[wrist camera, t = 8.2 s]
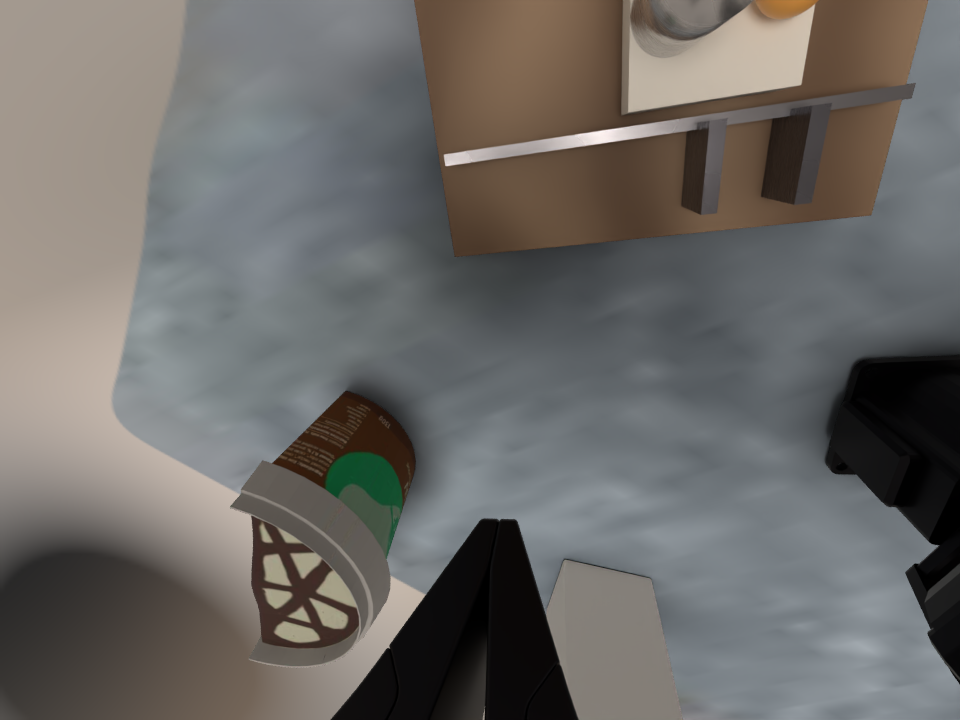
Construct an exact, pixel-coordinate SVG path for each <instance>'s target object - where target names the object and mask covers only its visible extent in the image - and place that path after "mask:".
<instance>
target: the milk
mask: <svg viewBox="0 0 960 720" xmlns="http://www.w3.org/2000/svg"><path fill="white" fill-rule="evenodd" d="M547 621H548V624H549V627H550V631H551V634H552V637H553V640H554V644H555V647H556V650H557V654H558V657H559V660H560V665H561V666H562V670H563V673H564V676H565V680H566V683H567V686H568V689H569V692H570V695H571V698H572V701H573V704H574V707H575V710H576V713H577V716H578V719H579V720H683V717H682V713H681V709H680V704H679V700H678V695H677V691H676V686H675V682H674V678H673V673H672V669H671V664H670V660H669V655H668V651H667V647H666V642H665V638H664V633H663V629H662V624H661V620H660V616H659V611H658V607H657V602H656V598H655V593H654V589H653V584H652V581H651V579H650V578H646V577H641V576H637V575H632V574H628V573H624V572H619V571H615V570H610V569H606V568H601V567H597V566H592V565H588V564H583V563H579V562H574V561H570V560H564V561H563V564H562V567H561V570H560V573H559V576H558V579H557V582H556V584H555V587H554V590H553V593H552V596H551V599H550V602H549V605H548V608H547Z"/></svg>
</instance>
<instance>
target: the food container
mask: <svg viewBox="0 0 960 720" xmlns="http://www.w3.org/2000/svg"><path fill="white" fill-rule="evenodd" d="M415 464H416V460H415V452H414V449H413V446H412V443H411V441H410V439H409V437H408V435H407V433H406V432H405V431H404V429H403V428H402V426H401V425H400V424H399V423H398V422H397V421H396V420H395V419H394V418H393V417H392V415H390V414H389V413H388V412H387V411H385V410H384V409H383V408H382V407H380V406H379V405H377V404H375V403H374V402H372V401H370V400H368V399H366V398H364V397H362V396H360V395H357V394H354V393H351V392H348V391H345V392H344V393H343V394H342V395H341V396H340V397H339V398H338V399H337V400H336V401H335V402H334V403H333V404H332V405H331V406H330V407H329V408H328V409H327V410H326V411H325V412H324V413H323V414H322V415H321V416H320V417H319V418H318V419H317V420H316V421H315V422H314V423H313V424H311V425H310V426H309V427H308V428H307V429H306V430H305V431H304V432H303V433H302V434H301V435H300V436H299V437H298V438H297V439H296V440H295V441H294V442H293V443H292V444H291V445H290V446H289V447H288V448H287V449H286V450H285V451H284V452H283V453H282V454H281V455H280V456H279V457H278V458H277V459H276V460H275V461H274V462H273V463H269V462H266V461H262V462H261V463H260V465H259V466H258V467H257V469H256V470H255V471H254V473H253V474H252V475H251V477H250V478H249V479H248V481H247V482H246V483H245V485H244V486H243V487H242V489H241V495H240V496H239V497H238V498H237V499H236V500H235V502H234V503H233V504H232V505H231V506H230V508H232V509H235V510H238V511H240V512H243V513H246V514H249V515H251V517H252V528H253V557H252V581H251V584H252V589H253V593H254V596H255V599H256V601H257V604H258V608H259V612H260V623H261V637H260V639H259V641H258V643H257V645H256V646H255V648H254V650H253V652H252V654H251V655H250V657H249V660H252V661H255V662H259V663H263V664H268V665H274V666H279V667H292V668H304V667H315V666H321V665H326V664H328V663H332V662H335V661H336V660H339V659H340V658H342V657H344V656H345V655H346V654H348V653H349V652H350V651H351V650H352V649H353V647H354V646H355V644H357V643H358V642H359V641H360V640H361V639H362V638H363V637H364V636H365V634H366V633H367V631H368V630H369V628H370V627H371V625H372V623H373V622H374V620H375V619H376V617H377V615H378V614H379V612H380V611H381V609H382V607H383V606H384V604H385V603H386V601H387V598H388V594H389V591H390V572H389V567H388V562H387V560H386V559H387V556H388V553H389V549H390V546H391V543H392V540H393V537H394V534H395V531H396V528H397V525H398V522H399V519H400V515H401V512H402V509H403V506H404V503H405V500H406V497H407V494H408V491H409V488H410V484H411V481H412V478H413V475H414V472H415Z"/></svg>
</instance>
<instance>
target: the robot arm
mask: <svg viewBox="0 0 960 720" xmlns="http://www.w3.org/2000/svg"><path fill="white" fill-rule="evenodd" d="M869 368H872V370H871V371H870V372H868V373H865V372H866V370H868V369H869ZM830 446H831V447H830V450H829V454H828V457H827V461H826V465H827V466H828V468H829V469H830V470H831V471H832V472H833V473H835V474H851V475H857V476H858V477H859V478H860V479H861V480H862V481H863V482H864V483H865V484H866V485H867V486H868V488H869V489H870V490H871V491H872V492H873V493H874V494H875V495H876V496H877V497H878V498H879V499H880V501H881V502H883V503H884V504H885V505H886V506H888V507H896V508H897V509H898V510H899V511H900V512H901V513H902V514H903V515H904V516H905V517H906V518H907V519H908V520H909V521H910V522H911V523H912V524H913V525H914V527H915V528H916V529H917V530H918V531H919V532H920V533H921V534H922V535H923V536H924V537H925V538H926V539H927V540H928V541H929V542H930V543H931V544H934V545H939V546H938V547H937V548H936V549H935V550H934V551H933V552H932V553H930V554H929V555H928V556H927V557H926V558H925V559H924V560H923V561H922V562H921V563H920V564H914V565H913V566H912V567H910V568H909V569H908V570H907V571H906V572H905V573H906V576H907V578H908V580H909V583H910V585H911V587H912V589H913V591H914V594H915V596H916V598H917V600H918V602H919V605H920V607H921V609H922V611H923V613H924V616H925V618H926V620H927V622H928V624H929V627H930V629H931V630H929V631H928V633H927V634H928V636H929V639H930V641H931V643H932V645H933V646H934V648H935V649H936V651H937V652H938V654H939V655H940V657H941V658H942V659H943V661H944V662H945V664H946V665H947V666H948V667H949V669H950V671H951V672H952V674H953V676H954V677H955V678H956V680H957V681H958V682H959V684H960V355H952V356H928V357H903V358H879V359H866V360H862V361H860V362H859V363H857V364H856V365H855V367H854V369H853V372H852V375H851V379H850V382H849V385H848V389H847V392H846V396H845V399H844V402H843V404H842V405H841V407H840V411H839V414H838V417H837V421H836V424H835V428H834V431H833V435H832V438H831V442H830ZM840 463H842V464H840ZM838 464H840V465H838ZM484 707H485V720H579V719H578V716H577V713H576V710H575V707H574V704H573V701H572V698H571V695H570V692H569V689H568V686H567V683H566V680H565V676H564V673H563V670H562V666H561V665H560V660H559V657H558V654H557V650H556V647H555V644H554V640H553V637H552V634H551V631H550V627H549V624H548V621H547V617H546V614H545V611H544V607H543V604H542V601H541V597H540V594H539V591H538V588H537V584H536V581H535V578H534V574H533V571H532V568H531V564H530V561H529V558H528V554H527V551H526V548H525V545H524V541H523V538H522V535H521V531H520V528H519V525H518V522H517V520H515V519H501V520H500V521H499V520H498V519H486V518H484V519H481V520H480V521H479V523H478V524H477V525H476V527H475V528H474V529H473V531H472V532H471V534H470V535H469V536H468V538H467V539H466V540H465V542H464V543H463V545H462V546H461V547H460V549H459V550H458V551H457V553H456V554H455V556H454V557H453V558H452V560H451V561H450V562H449V564H448V565H447V567H446V568H445V569H444V571H443V572H442V573H441V575H440V576H439V578H438V579H437V580H436V582H435V583H434V584H433V586H432V587H431V589H430V590H429V591H428V593H427V594H426V595H425V597H424V598H423V600H422V601H421V602H420V604H419V605H418V607H417V608H416V609H415V611H414V612H413V613H412V615H411V616H410V618H409V619H408V620H407V622H406V623H405V624H404V626H403V627H402V628H401V630H400V631H399V633H398V634H397V635H396V637H395V638H394V640H393V641H392V642H391V644H390V649H389V648H387V649H386V650H385V652H384V653H383V654H382V656H381V657H380V659H379V660H378V661H377V663H376V664H375V665H374V667H373V668H372V669H371V671H370V672H369V673H368V675H367V676H366V677H365V678H364V680H363V681H362V682H361V684H360V685H359V686H358V688H357V689H356V690H355V691H354V693H353V694H352V695H351V696H350V697H349V699H348V700H347V701H346V702H345V703H344V705H343V706H342V707H341V708H340V709H339V710H338V712H337V713H336V714H335V715H334V716H333V717H332V719H331V720H482V719H483V713H484Z"/></svg>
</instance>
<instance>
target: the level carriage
mask: <svg viewBox="0 0 960 720" xmlns="http://www.w3.org/2000/svg"><path fill="white" fill-rule="evenodd" d="M818 1H819V0H623V25H622V97H621V116H622V115H628V114H635V113H641V112H648V111H654V110H660V109H667V108H673V107H679V106H686V105H692V104H698V103H705V102H711V101H718V100H724V99H730V98H737V97H743V96H749V95H756V94H762V93H768V92H775V91H779V90H783V89H787V88H791V87H795V86H799V85H801V83H802V78H803V72H804V66H805V60H806V55H807V49H808V43H809V37H810V31H811V26H812V20H813V14H814V8H815V3H817V2H818Z"/></svg>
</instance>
